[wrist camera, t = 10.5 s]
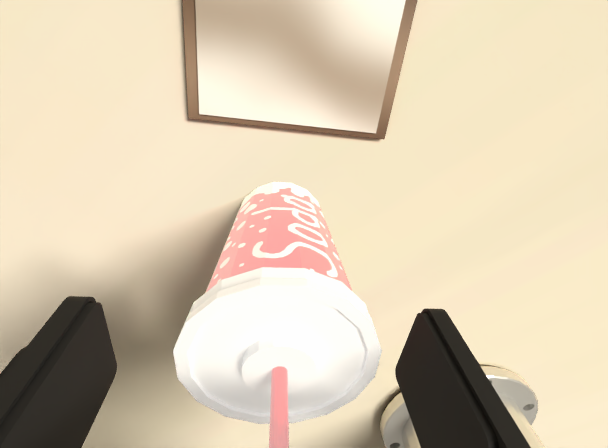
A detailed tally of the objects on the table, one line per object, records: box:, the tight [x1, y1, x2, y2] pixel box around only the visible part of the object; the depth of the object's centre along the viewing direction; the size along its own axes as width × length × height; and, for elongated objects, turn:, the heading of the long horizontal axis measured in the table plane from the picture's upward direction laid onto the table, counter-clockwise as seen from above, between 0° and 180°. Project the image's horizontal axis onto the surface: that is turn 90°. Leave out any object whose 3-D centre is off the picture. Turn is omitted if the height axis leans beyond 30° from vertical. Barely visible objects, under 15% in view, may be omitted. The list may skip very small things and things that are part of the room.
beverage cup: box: [173, 182, 382, 448], centre depth 11 cm, size 6×6×14 cm
